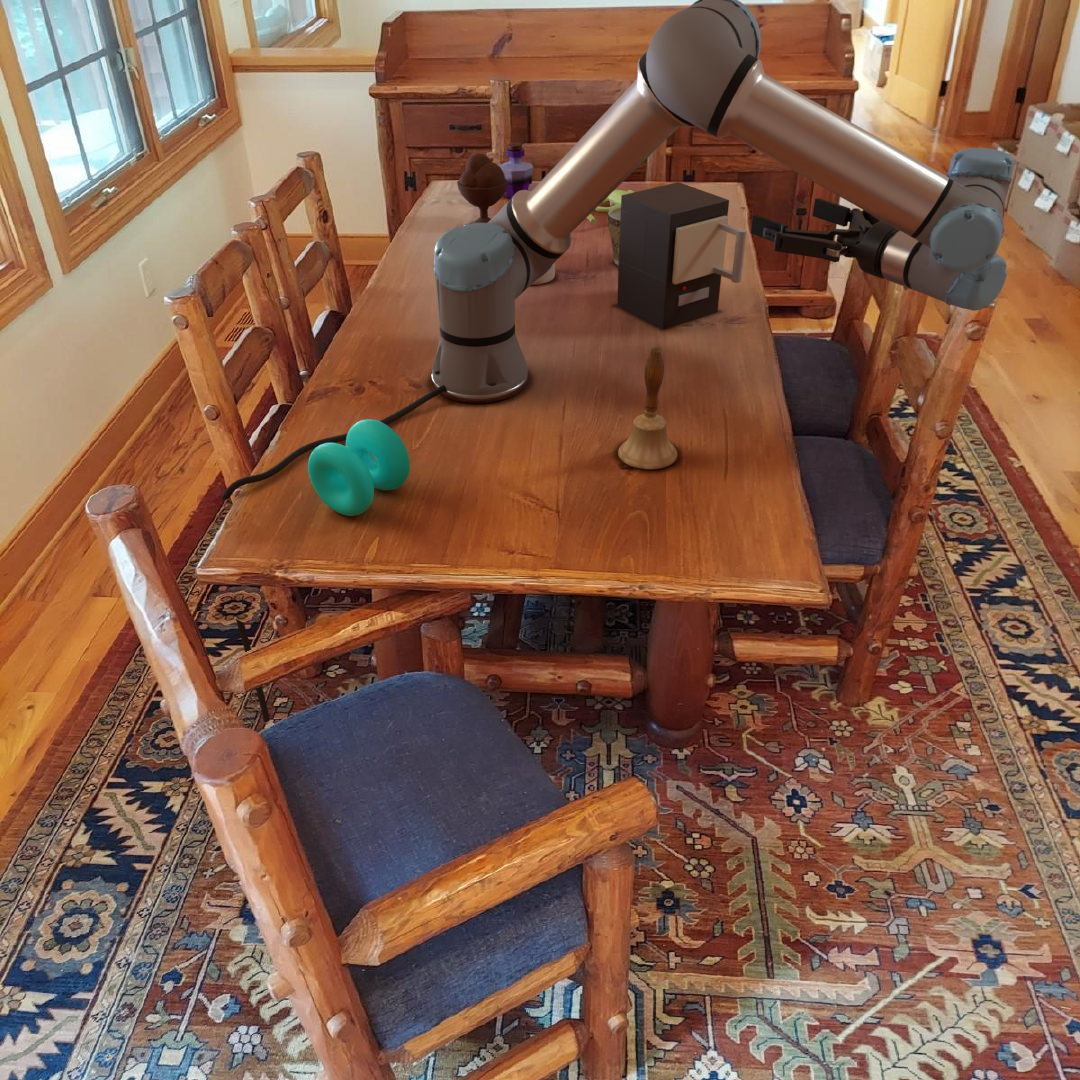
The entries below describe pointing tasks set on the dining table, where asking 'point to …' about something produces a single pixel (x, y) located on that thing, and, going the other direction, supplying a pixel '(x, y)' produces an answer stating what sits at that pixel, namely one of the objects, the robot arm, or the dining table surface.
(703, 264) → the chamber door
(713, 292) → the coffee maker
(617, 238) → the ceramic cup
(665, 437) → the hand bell
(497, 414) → the dining table surface
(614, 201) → the figurine
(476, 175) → the ice cream bowl
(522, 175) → the potion bottle
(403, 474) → the teal yo-yo
